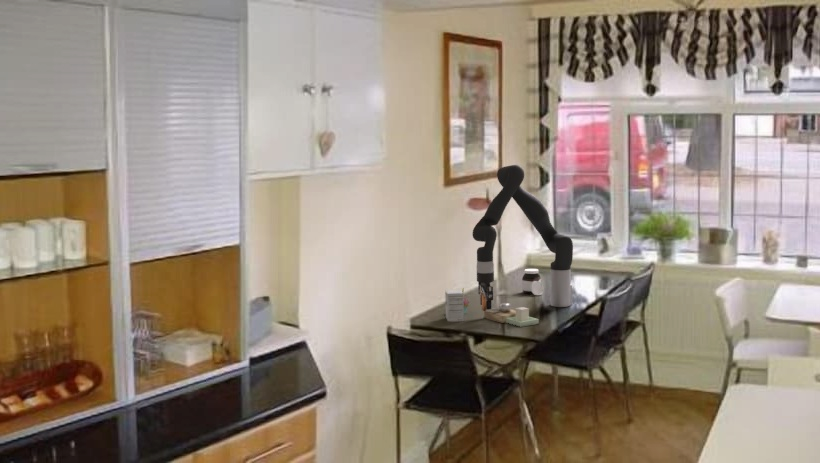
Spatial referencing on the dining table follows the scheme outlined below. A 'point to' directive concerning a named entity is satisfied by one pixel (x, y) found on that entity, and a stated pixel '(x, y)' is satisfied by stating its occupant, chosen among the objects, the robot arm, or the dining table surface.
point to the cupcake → (465, 303)
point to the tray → (524, 323)
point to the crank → (502, 308)
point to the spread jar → (532, 282)
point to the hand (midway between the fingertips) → (485, 307)
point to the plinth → (499, 315)
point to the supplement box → (454, 305)
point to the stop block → (522, 314)
